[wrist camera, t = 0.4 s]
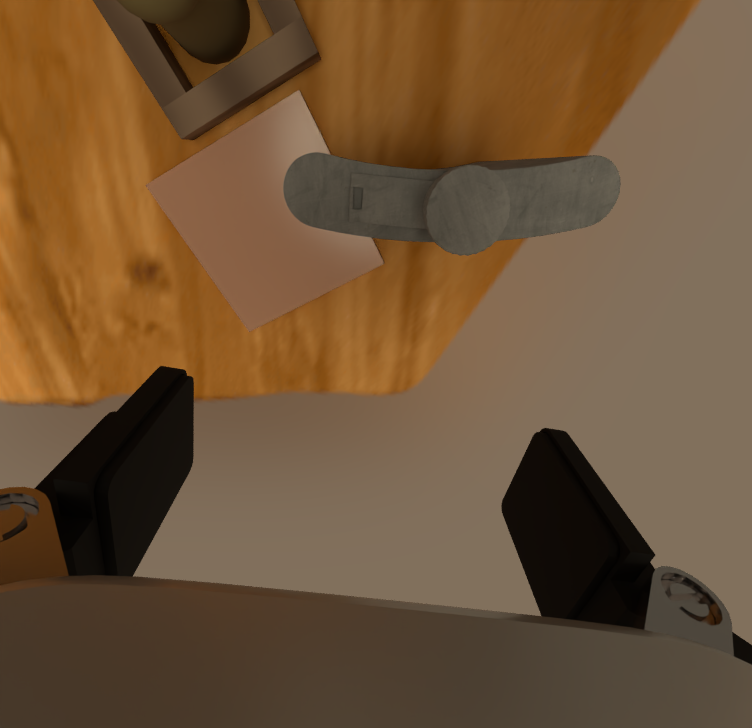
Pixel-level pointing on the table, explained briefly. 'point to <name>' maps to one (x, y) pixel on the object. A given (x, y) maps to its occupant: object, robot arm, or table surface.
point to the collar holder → (229, 85)
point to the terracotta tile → (259, 217)
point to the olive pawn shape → (199, 24)
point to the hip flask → (452, 199)
